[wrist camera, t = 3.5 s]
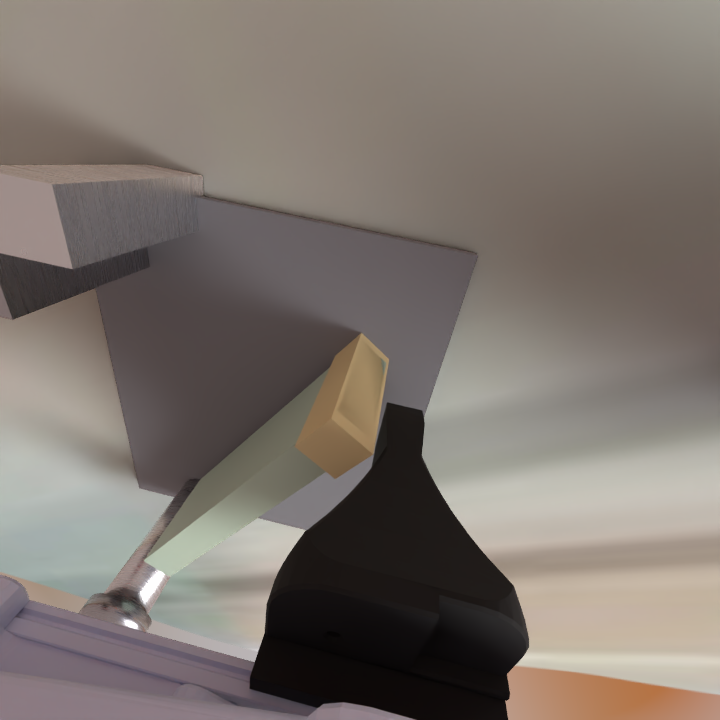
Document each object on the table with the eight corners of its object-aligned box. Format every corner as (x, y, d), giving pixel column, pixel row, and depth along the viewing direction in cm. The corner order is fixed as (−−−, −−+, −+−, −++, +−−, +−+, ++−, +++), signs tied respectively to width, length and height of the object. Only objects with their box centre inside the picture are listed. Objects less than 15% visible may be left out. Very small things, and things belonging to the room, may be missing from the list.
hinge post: (227, 474, 18) (135, 622, 12) (228, 505, 19) (144, 653, 13) (181, 463, 18) (69, 604, 12) (185, 494, 19) (84, 636, 13)
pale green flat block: (389, 359, 13) (373, 454, 9) (225, 488, 18) (165, 588, 13) (361, 332, 12) (331, 418, 8) (202, 472, 17) (133, 569, 13)
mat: (476, 253, 11) (477, 256, 11) (380, 541, 18) (379, 548, 18) (80, 170, 12) (69, 170, 11) (144, 482, 19) (139, 488, 19)
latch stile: (202, 175, 11) (51, 184, 7) (207, 275, 13) (89, 337, 8) (120, 158, 11) (-83, 156, 7) (136, 259, 13) (-19, 312, 8)
